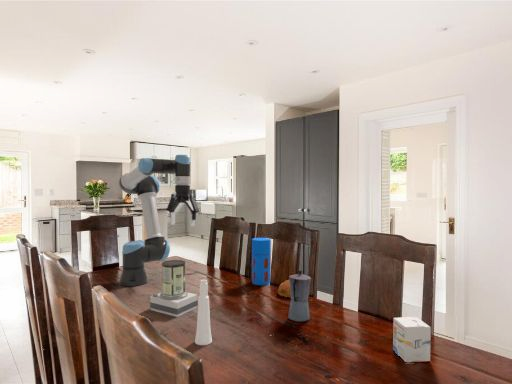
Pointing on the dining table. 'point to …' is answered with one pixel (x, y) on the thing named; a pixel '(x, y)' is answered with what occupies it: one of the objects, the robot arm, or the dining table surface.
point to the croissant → (285, 289)
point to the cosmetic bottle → (203, 316)
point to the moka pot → (299, 297)
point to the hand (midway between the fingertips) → (182, 225)
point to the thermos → (261, 261)
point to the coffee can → (173, 278)
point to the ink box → (411, 339)
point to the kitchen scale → (173, 304)
